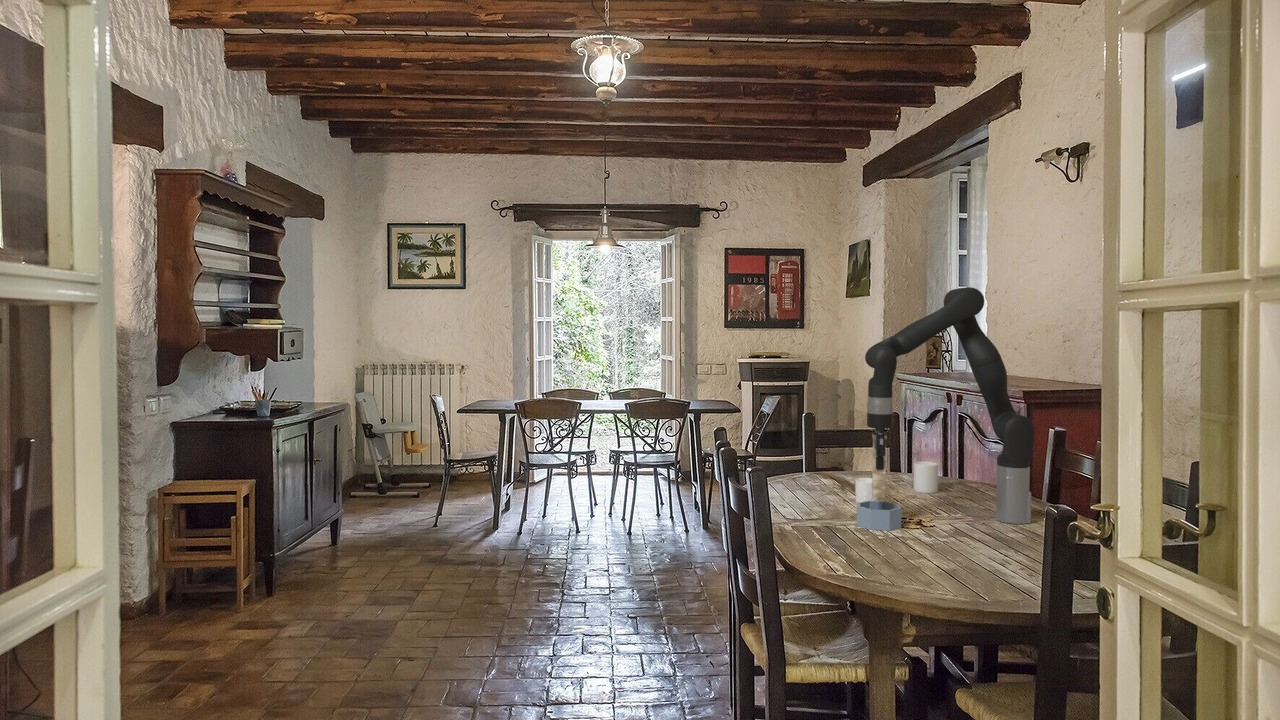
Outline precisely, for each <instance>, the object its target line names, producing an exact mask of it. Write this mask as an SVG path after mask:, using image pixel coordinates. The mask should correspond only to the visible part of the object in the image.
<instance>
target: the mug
mask: <svg viewBox="0 0 1280 720" xmlns="http://www.w3.org/2000/svg"><path fill="white" fill-rule="evenodd" d="M938 488H939V464H938V462H937V463H936V462H933V461H916V462H914V463H913V491H914V492H915V493H918V494H925V495H932V494H934V495H935V494H937V493H938V491H939V489H938Z"/></svg>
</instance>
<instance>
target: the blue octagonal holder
mask: <svg viewBox="0 0 1280 720" xmlns="http://www.w3.org/2000/svg"><path fill="white" fill-rule="evenodd" d="M856 524H857V527H860V528H863V529H867V530H871V531H883V532H884V531H888V532H891V531H896V530H900V529H902V507H901V505H900V504H898V503H896V502H895V503H894V502H891V501H886V500H879V501H863V502H858V503H857V504H856Z"/></svg>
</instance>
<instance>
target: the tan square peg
mask: <svg viewBox="0 0 1280 720" xmlns="http://www.w3.org/2000/svg"><path fill="white" fill-rule="evenodd" d="M878 452H882V450H881V449H879V450H878ZM875 454H876V449H874V446H873V445H872V471H871V472H872V473H871V474H872V477H871V478H872V496H873V497H879V498H883V499H885V498H886V471H887V470H886V468H887V467H886V461H887V460H886V459H887V457H886V456H887V455H886V454H887V448H886V449H885V456H884V469H883V470H877V469H876V456H875Z"/></svg>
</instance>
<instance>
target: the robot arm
mask: <svg viewBox="0 0 1280 720" xmlns="http://www.w3.org/2000/svg"><path fill="white" fill-rule="evenodd" d="M984 297H985V296H984V295H983V293H982V292H981V290H979V289H978V288H974V287H970V286H968V287H967V286H966V287H958V288H954V289H951V290H949V291H948V292H947V293H945V296H944V299H943V306H942V307H941V308H940V309H937V310H936V311H934V312H932V313H930V314H928V315H927V316H926V315H925V316H924V317H922V318H919V319H918V320H916V321H914V322H912V323H910V324H908V325H906V326H905V327H903V328H902V329H901V330H899V331H898V332H897V333H895V334H894V335H892V336H890V337H888V338H885V339H884V340H881V341H879V342H877V343H875V344H874V345H872V346H870V348H868V350H867V351H866V352H865V356H864V360H865V363H866V364H867V365H868V367H871V368H872V369H873V376H872V377H871V378H870V379H869V380H868V386H867V389H868V390H867V396H868V397H867V402H866V403H867V404H866V411H867V412H866V427H867V428H870V429H874V432H872V434H871V437H872V447H873V446H874V449H876V454H875V456H876V469H877V470H883V469H884V456H885V449H886V450H887V439H888V436H887V435H888V434H887V433H886V432H885V429H892V428H893V426H894V401H893V382H894V378H895V375H896V369H897V363H898V358H897V357H900V356H903V355H907V354H910V353H911V352H913V351H914V350H916V349H917V348H919V347H921V346H922V345H924V344H925V343H926V342H928V341H929V340H931V339H933V338H935V336H937V335H939V334H940V333H941V332H944V331H945V330H948V329H949V328H951V327H953V328H954V330H955V332H956V334H957V336H958V339H959V341H960V343H961V346H962V348H963V351H964V353H965V354H964V355H965V356H966V359H967V361H968V364H969V367H970V369H971V372H972V374H973V377H974V379H975V381H976V383H977V385H978V390H979V391H980V393H981V395H982V398H983V400H984V402H985V406H986V408H987V412H988V415H989V418H990V422H991V423H990V424H991V426H992V429H993V432H994V434H995V435H996V437H997V438H998V439H999V440H1001V441H1003V443H1002V445H1003V446H1002V450H1001V451H1002V452H1001V453H1000V454H998V456H997V457H996V497H995V498H996V500H995V501H996V503H995V504H996V505H995V520H996V521H999V522H1000V523H1001V522H1002V523H1006V524H1014V525H1022V524H1025V525H1026V524H1031V522H1032V492H1031V491H1030V479H1031V478H1030V475H1031V474H1030V473H1031V460H1032V459H1033V455H1034V445H1035V444H1034V443H1035V427H1034V424H1033V421H1032V420H1031V419H1030V418H1028V417H1027V416H1026V415H1021V414H1017V412H1016V409H1014V406H1013V405H1012V402H1011V400H1010V396H1009V392H1008V375H1007V369H1006V366H1005V363H1004V361H1003V358H1002V357H1001V354H1000V351H999V350H998V349H997V347H996V346H995V344H994V343H993V342H992V341H991V339H989V337H988V336H987V335H986V334H985V333H984V332H983V330H982V329H981V327H980V326H979V323H978V321H977V318H976V315H978V314H979V313H981V311H982V310H983V308H984V305H985V298H984ZM879 449H881V450H882V452H878V450H879Z"/></svg>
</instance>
